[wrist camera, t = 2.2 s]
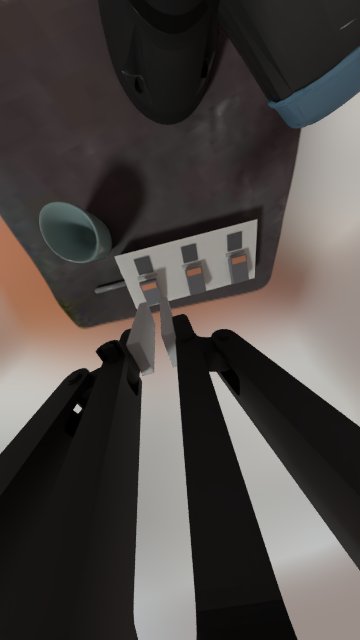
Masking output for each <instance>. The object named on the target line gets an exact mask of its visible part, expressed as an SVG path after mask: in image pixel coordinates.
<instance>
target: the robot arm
mask: <svg viewBox="0 0 360 640" xmlns="http://www.w3.org/2000/svg"><path fill="white" fill-rule="evenodd" d="M98 3H99V9H100V16H101V21H102V26H103V30H104V34H105V38H106V42H107V46H108V50H109V54H110V57H111V61H112V64H113V67H114V69H115V72H116V74H117V77H118V79H119V81H120V83H121V85H122V87H123V89H124V91H125V92H126V94H127V96H128V97H129V99H130V100H131V101H132V103H133V104H134V105H135V106H136V108H137V109H138V110H139V111H140V112H141V113H142V114H144V115H145V116H146V117H147V118H149V119H151V120H153V121H154V122H157V123H160V124H167V125H169V124H175V123H178V122H181V121H183V120H184V119H186V118H187V117H188V116H189V115H190V114H191V113H192V112H193V111H194V110H195V108H196V107H197V106H198V104H199V102H200V100H201V99H202V97H203V94H204V92H205V89H206V86H207V83H208V80H209V77H210V73H211V70H212V67H213V63H214V58H215V53H216V47H217V41H218V32H219V24H220V25H221V27H222V28H223V30H224V31H225V33H226V34H227V36H228V37H229V39H230V41H231V42H232V44H233V45H234V47H235V48H236V50H237V51H238V53H239V54H240V56H241V57H242V59H243V60H244V62H245V64H246V65H247V67H248V68H249V70H250V72H251V73H252V75H253V76H254V78H255V80H256V81H257V83H258V85H259V86H260V88H261V89H262V91H263V93H264V94H265V96H266V98H267V104H268V105H269V106H270V107H271V108H275V109H276V111H277V112H278V113H279V114H280V116H281V117H282V118H283V120H284V121H285V123H286V124H287V125H288V126H290V127H291V128H295V129H297V128H302V127H305V126H307V125H311V124H313V123H316V122H317V121H319V120H321V119H323V118H324V117H326V116H327V115H329V114H330V113H332V112H333V111H335V110H336V109H338V108H339V107H340V106H342V105H343V104H344V103H346V102H347V101H348V100H350V99H351V98H352V97H353V96H355V95H356V94H357V93H358V92H360V0H98ZM160 317H161V335H162V339H163V341H164V344H165V347H166V350H167V352H168V355H169V358H170V360H171V363H172V366H173V367H176V366H177V370H178V382H179V395H180V408H181V420H182V434H183V446H184V459H185V472H186V485H187V498H188V510H189V523H190V534H191V535H190V536H191V548H192V562H193V574H194V586H195V602H196V623H197V624H196V625H197V640H297V637H296V635H295V632H294V629H293V627H292V624H291V621H290V619H289V616H288V613H287V610H286V607H285V605H284V602H283V599H282V596H281V593H280V590H279V587H278V584H277V581H276V578H275V575H274V571H273V569H272V565H271V562H270V559H269V556H268V553H267V550H266V547H265V544H264V541H263V538H262V535H261V532H260V528H259V525H258V522H257V519H256V516H255V513H254V510H253V507H252V504H251V500H250V497H249V494H248V491H247V488H246V485H245V482H244V479H243V476H242V473H241V470H240V466H239V463H238V460H237V457H236V454H235V451H234V448H233V445H232V442H231V439H230V436H229V432H228V429H227V426H226V423H225V420H224V417H223V414H222V411H221V408H220V405H219V402H218V399H217V396H216V392H215V389H214V386H213V383H212V380H211V377H210V374H209V371H210V372H217V373H218V375H219V376H220V377H221V379H222V380H223V382H224V383H225V384H226V386H227V387H228V389H229V390H230V391H231V393H232V394H233V396H234V397H235V398H236V400H237V401H238V403H239V404H240V405H241V407H242V408H243V409H244V411H245V412H246V414H247V415H248V416H249V417H250V419H251V421H252V422H253V423H254V425H255V426H256V427H257V429H258V430H259V432H260V433H261V434H262V436H263V437H264V438H265V440H266V441H267V443H268V444H269V445H270V447H271V448H272V449H273V451H274V452H275V454H276V455H277V457H278V458H279V459H280V461H281V462H282V463H283V465H284V466H285V467H286V469H287V470H288V472H289V473H290V475H291V476H292V477H293V479H294V480H295V481H296V483H297V484H298V486H299V487H300V488H301V490H302V491H303V493H304V494H305V495H306V497H307V498H308V499H309V501H310V502H311V504H312V505H313V506H314V508H315V509H316V511H317V512H318V513H319V515H320V516H321V517H322V519H323V520H324V522H325V523H326V524H327V526H328V527H329V529H330V530H331V531H332V533H333V534H334V535H335V537H336V538H337V540H338V541H339V542H340V544H341V545H342V546H343V548H344V549H345V551H346V552H347V553H348V555H349V556H350V558H351V559H352V560H353V562H354V563H355V564H356V566H357V567H358V569H359V570H360V427H359V426H358V425H357V424H355V423H354V422H353V421H351V420H350V419H348V418H347V417H346V416H345V415H343V414H342V413H341V412H339V411H338V410H337V409H335V408H334V407H333V406H331V405H330V404H329V403H327V402H326V401H325V400H323V399H322V398H321V397H320V396H318V395H317V394H315V393H314V392H313V391H311V390H310V389H309V388H308V387H306V386H305V385H304V384H302V383H301V382H300V381H298V380H297V379H295V378H294V377H293V376H292V375H290V374H289V373H288V372H286V371H285V370H284V369H282V368H281V367H280V366H278V365H277V364H276V363H275V362H273V361H272V360H271V359H269V358H268V357H267V356H265V355H264V354H263V353H261V352H260V351H259V350H257V349H256V348H255V347H253V346H252V345H251V344H249V343H248V342H247V341H245V340H244V339H243V338H241V337H240V336H239V335H238V334H236V333H235V332H233V331H231V330H228V329H220V330H217V331H215V332H214V333H213V334H212V336H211V337H199V336H197V335H196V334H195V333H194V331H193V329H192V326H191V324H190V322H189V320H188V317H187V316H186V315H185V314H181V315H177V316H174V317H173V316H172V312H171V308H170V305H169V301H168V298H167V296H166V297H162V298H160ZM154 350H155V322H154V320H153V317H152V314H151V312H150V309H149V306H148V304H147V302H144V303H140V304H139V307H138V310H137V313H136V316H135V319H134V322H133V325H132V328H131V329H128V330H125V331H124V332H123V334H122V335H121V338H120V340H119V341H118V340H113V341H109V342H106V343H105V344H103V345H101V346H100V347H99V348H98V349H97V350H96V353H97V354H98V356H99V357H100V358H101V360H102V361H103V364H102V366H101V367H100V368H98V369H96V370H94V371H92V372H89V371H88V370H87V369H86V368H82V369H78V370H76V371H74V372H72V373H71V374H70V375H69V376H67V377H66V378H65V379H64V380H63V382H62V383H61V384H60V385H59V386H58V387H57V389H56V390H55V391H54V392H53V393H52V394H51V396H50V397H49V398H48V399H47V400H46V402H45V403H44V404H43V405H42V406H41V407H40V409H39V410H38V411H37V412H36V413H35V414H34V415H33V417H32V418H31V419H30V420H29V421H28V422H27V424H26V425H25V426H24V427H23V428H22V430H21V431H20V432H19V433H18V434H17V435H16V437H15V438H14V439H13V440H12V441H11V442H10V444H9V445H8V446H7V447H6V448H5V449H4V451H3V452H2V453H1V454H0V640H138V637H137V633H136V629H135V625H134V614H133V609H134V608H133V607H134V606H133V605H134V602H133V601H134V576H135V549H136V523H137V497H138V471H139V446H140V419H141V393H142V381H141V378H140V377H139V373H140V371H141V373H142V375H143V376H144V375H148V374H152V373H154V353H155V351H154ZM77 404H78V405H79V406H80V407H81V408H82V410H81V411H80V412H79V413H76V412H75V411H74V410H73V409H74V408H75V406H76V405H77Z"/></svg>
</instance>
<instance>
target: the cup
mask: <svg viewBox="0 0 360 640" xmlns="http://www.w3.org/2000/svg"><path fill="white" fill-rule="evenodd" d="M39 225H40V229H41V233H42V235H43V238H44V240H45V241H46V243H47V245H48V246H49V247H50V249H51V250H52V251H53V252H54V253H55V254H57V255H58V256H60V257H61V258H63V259H65V260H68V261H71V262H76V263H87V262H93V261H97V260H100V259H103V258H105V257H106V256H107V255H109V253H110V252H111V249H112V237H111V234H110V231H109V229H108V227H107V226H106V225H105V223H104V222H103V221H101V220H100V219H99V218H98V217H96V216H95V215H93V214H92V213H90V212H88V211H86V210H85V209H83V208H81V207H78V206H76V205H74V204H71V203H67V202H51V203H49V204H46V205H45V206H44V207H43V208H42V210H41V212H40V216H39Z"/></svg>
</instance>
